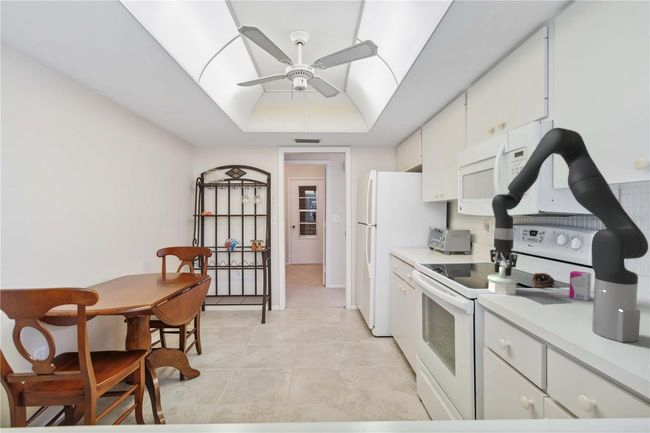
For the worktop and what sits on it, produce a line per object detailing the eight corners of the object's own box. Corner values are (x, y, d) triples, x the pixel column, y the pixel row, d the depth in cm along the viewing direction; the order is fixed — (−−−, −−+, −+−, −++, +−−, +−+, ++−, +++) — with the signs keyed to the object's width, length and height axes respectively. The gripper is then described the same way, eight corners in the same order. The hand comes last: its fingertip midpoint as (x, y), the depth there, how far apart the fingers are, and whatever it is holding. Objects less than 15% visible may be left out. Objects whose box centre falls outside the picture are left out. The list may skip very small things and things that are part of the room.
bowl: (521, 295, 125) (522, 283, 125) (500, 296, 124) (500, 284, 123) (503, 287, 136) (503, 276, 135) (483, 288, 134) (483, 277, 134)
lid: (525, 283, 124) (525, 269, 124) (500, 284, 123) (501, 270, 122) (504, 276, 136) (504, 263, 136) (481, 277, 134) (482, 264, 134)
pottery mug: (563, 292, 131) (558, 278, 129) (542, 300, 132) (537, 286, 130) (544, 278, 142) (540, 265, 140) (526, 286, 144) (521, 273, 142)
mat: (573, 303, 114) (573, 302, 114) (542, 305, 112) (542, 304, 112) (542, 292, 128) (542, 291, 128) (514, 294, 126) (514, 293, 126)
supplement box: (590, 299, 120) (591, 272, 119) (586, 302, 116) (587, 274, 116) (573, 295, 124) (574, 270, 124) (568, 298, 121) (569, 272, 120)
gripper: (524, 239, 122) (522, 278, 123) (499, 235, 136) (498, 270, 137) (508, 240, 121) (507, 278, 122) (485, 236, 135) (484, 270, 136)
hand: (502, 274), depth 129 cm, fingers open, 6 cm apart
